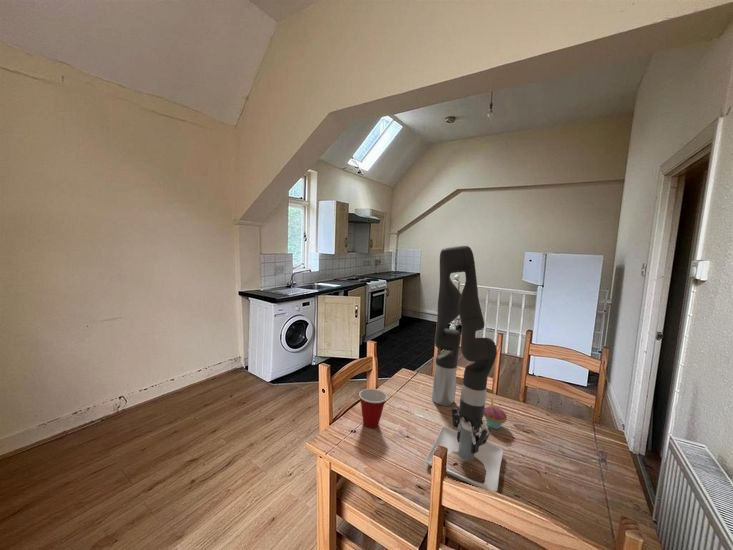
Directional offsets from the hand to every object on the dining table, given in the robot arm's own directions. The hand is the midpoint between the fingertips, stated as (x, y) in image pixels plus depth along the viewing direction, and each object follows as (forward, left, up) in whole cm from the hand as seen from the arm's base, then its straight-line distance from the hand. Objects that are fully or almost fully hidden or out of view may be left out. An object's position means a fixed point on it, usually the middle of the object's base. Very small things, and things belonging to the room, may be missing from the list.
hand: (466, 447), depth 96 cm
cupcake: (-26, -8, -5) cm, 28 cm away
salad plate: (0, 0, -6) cm, 6 cm away
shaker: (0, 0, -3) cm, 3 cm away
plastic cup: (+18, -30, -5) cm, 35 cm away
